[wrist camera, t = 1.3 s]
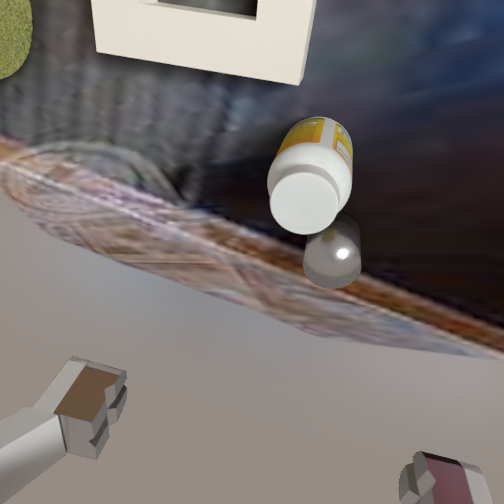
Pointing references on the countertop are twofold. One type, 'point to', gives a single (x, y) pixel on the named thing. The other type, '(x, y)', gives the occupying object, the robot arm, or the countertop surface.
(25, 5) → the green disc
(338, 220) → the short stub
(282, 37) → the bore plate
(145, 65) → the countertop surface
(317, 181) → the supplement bottle
